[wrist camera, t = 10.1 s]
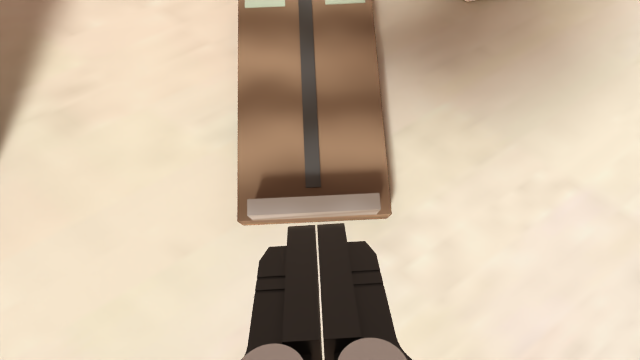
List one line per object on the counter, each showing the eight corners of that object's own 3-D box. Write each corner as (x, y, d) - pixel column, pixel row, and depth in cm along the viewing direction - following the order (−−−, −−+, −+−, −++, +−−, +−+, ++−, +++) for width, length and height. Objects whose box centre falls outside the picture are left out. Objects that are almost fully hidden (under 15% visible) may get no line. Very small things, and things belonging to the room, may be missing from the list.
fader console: (386, 218, 27) (397, 208, 23) (243, 225, 27) (230, 216, 23) (357, -100, 34) (362, -148, 30) (243, -95, 34) (233, -143, 30)
